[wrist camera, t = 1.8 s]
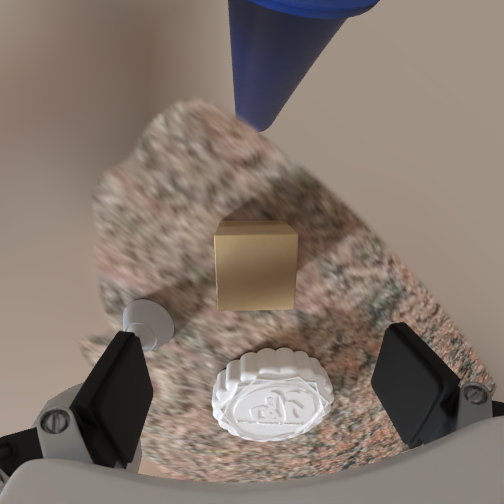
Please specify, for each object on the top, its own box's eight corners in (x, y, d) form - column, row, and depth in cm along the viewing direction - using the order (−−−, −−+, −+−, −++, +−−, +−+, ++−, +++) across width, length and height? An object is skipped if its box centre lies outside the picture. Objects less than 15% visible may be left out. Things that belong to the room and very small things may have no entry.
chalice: (100, 315, 23) (-3, 458, 5) (141, 272, 22) (10, 444, 4) (155, 365, 24) (103, 526, 7) (201, 331, 23) (165, 531, 6)
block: (219, 220, 21) (213, 235, 16) (285, 220, 21) (298, 234, 16) (221, 281, 22) (217, 311, 17) (283, 280, 22) (294, 309, 17)
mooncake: (342, 349, 25) (355, 372, 21) (307, 423, 28) (313, 445, 24) (220, 338, 24) (218, 362, 20) (208, 417, 27) (206, 441, 23)
